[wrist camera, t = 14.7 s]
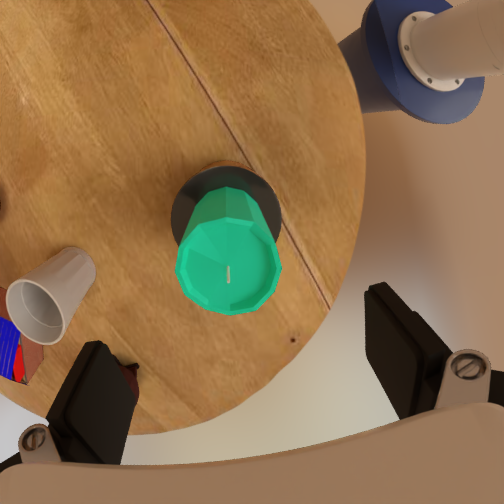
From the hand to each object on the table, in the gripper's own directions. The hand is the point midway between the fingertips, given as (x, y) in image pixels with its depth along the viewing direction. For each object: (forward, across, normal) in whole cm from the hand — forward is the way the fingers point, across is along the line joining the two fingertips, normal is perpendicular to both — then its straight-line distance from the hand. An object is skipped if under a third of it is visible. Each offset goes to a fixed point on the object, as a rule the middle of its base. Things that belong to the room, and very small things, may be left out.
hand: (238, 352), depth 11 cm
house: (+28, +43, +8) cm, 52 cm away
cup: (+28, +23, +4) cm, 37 cm away
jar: (+28, +1, 0) cm, 28 cm away
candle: (+18, 0, 0) cm, 18 cm away
